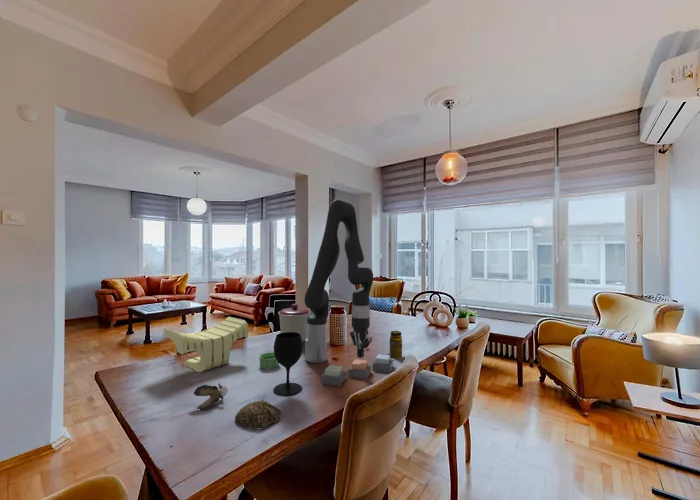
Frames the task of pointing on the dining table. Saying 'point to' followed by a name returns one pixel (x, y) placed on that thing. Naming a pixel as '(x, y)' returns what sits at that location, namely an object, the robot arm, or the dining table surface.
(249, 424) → the brown low domed lump
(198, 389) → the eagle figurine
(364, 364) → the terracotta button
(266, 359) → the ramekin
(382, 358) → the dusty blue button
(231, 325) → the slatted curved stool
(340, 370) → the sage green button
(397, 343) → the condiment
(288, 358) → the wine glass
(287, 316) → the canister
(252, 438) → the dining table surface
